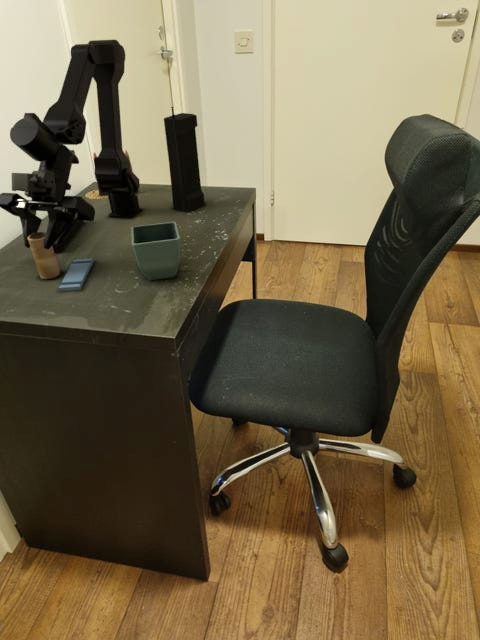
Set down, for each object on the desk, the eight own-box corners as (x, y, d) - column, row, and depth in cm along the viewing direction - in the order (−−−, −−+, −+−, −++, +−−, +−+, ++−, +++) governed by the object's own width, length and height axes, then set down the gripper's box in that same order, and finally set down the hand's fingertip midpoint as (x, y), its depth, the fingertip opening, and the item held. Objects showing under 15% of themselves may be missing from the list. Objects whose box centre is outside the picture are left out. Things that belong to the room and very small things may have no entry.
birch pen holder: (35, 278, 95) (22, 239, 90) (48, 269, 98) (36, 230, 93) (52, 280, 94) (40, 240, 89) (64, 270, 97) (53, 232, 92)
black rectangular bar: (75, 222, 120) (72, 211, 118) (85, 221, 119) (82, 210, 118) (49, 253, 105) (45, 240, 103) (61, 252, 105) (57, 240, 103)
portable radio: (190, 199, 129) (180, 101, 115) (207, 203, 126) (198, 102, 112) (171, 208, 124) (157, 106, 110) (188, 212, 121) (176, 108, 107)
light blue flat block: (59, 291, 90) (58, 287, 90) (74, 263, 100) (73, 259, 100) (80, 290, 90) (79, 286, 90) (93, 261, 100) (92, 258, 100)
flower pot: (185, 280, 91) (180, 238, 86) (140, 287, 90) (131, 244, 85) (180, 261, 98) (175, 220, 93) (138, 267, 97) (130, 226, 92)
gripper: (-15, 151, 88) (-36, 229, 86) (72, 153, 84) (53, 235, 81) (24, 179, 99) (7, 249, 96) (103, 182, 94) (87, 256, 92)
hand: (36, 247), depth 91 cm, fingers closed on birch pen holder, 4 cm apart
